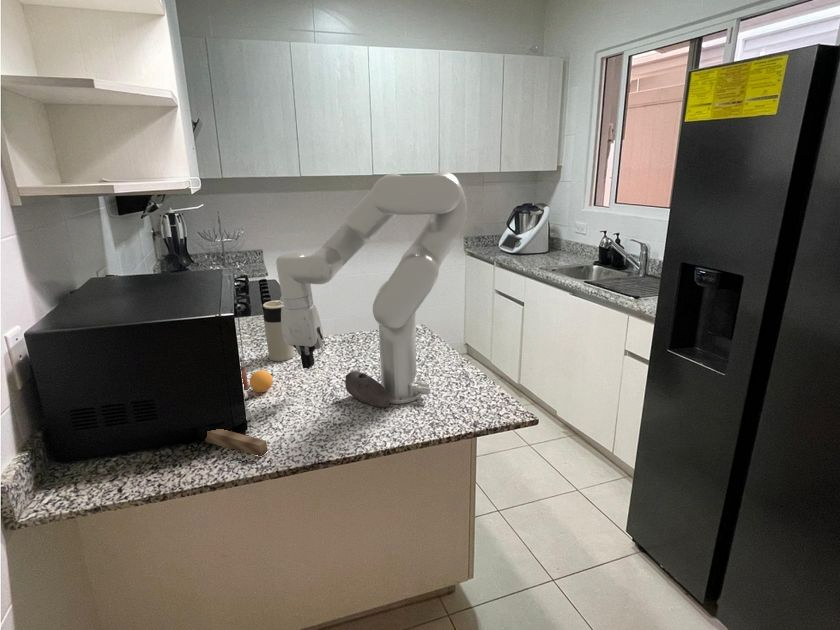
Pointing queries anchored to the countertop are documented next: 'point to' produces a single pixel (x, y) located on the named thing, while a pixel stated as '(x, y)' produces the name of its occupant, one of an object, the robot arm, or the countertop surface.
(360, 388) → the perforated stone tool
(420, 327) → the countertop surface
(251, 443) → the wall
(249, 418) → the sage pin
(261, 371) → the ball
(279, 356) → the travel mug
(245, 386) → the lighter
